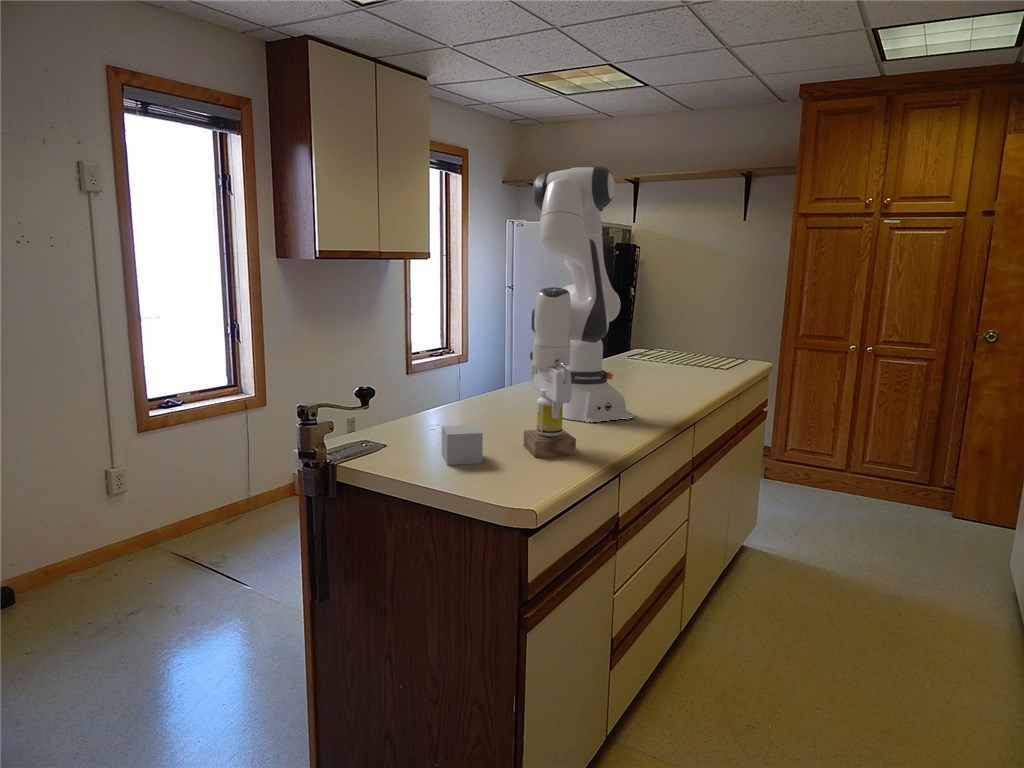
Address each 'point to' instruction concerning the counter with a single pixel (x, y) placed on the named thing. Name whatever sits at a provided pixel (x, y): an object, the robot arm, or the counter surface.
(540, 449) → the walnut base
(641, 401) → the counter surface
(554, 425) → the pill bottle
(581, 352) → the robot arm
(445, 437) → the grey pedestal
